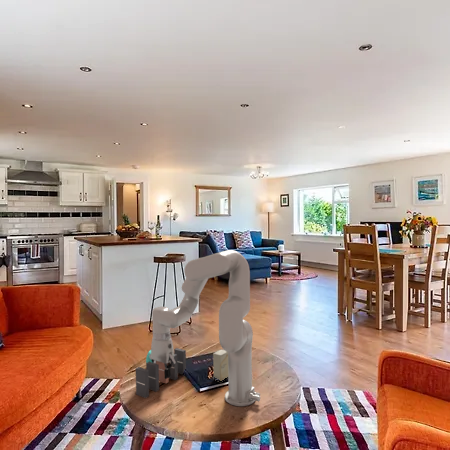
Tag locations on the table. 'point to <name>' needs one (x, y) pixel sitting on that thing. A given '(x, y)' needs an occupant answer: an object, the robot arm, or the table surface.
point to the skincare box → (220, 364)
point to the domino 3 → (162, 372)
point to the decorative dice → (148, 357)
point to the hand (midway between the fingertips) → (162, 375)
